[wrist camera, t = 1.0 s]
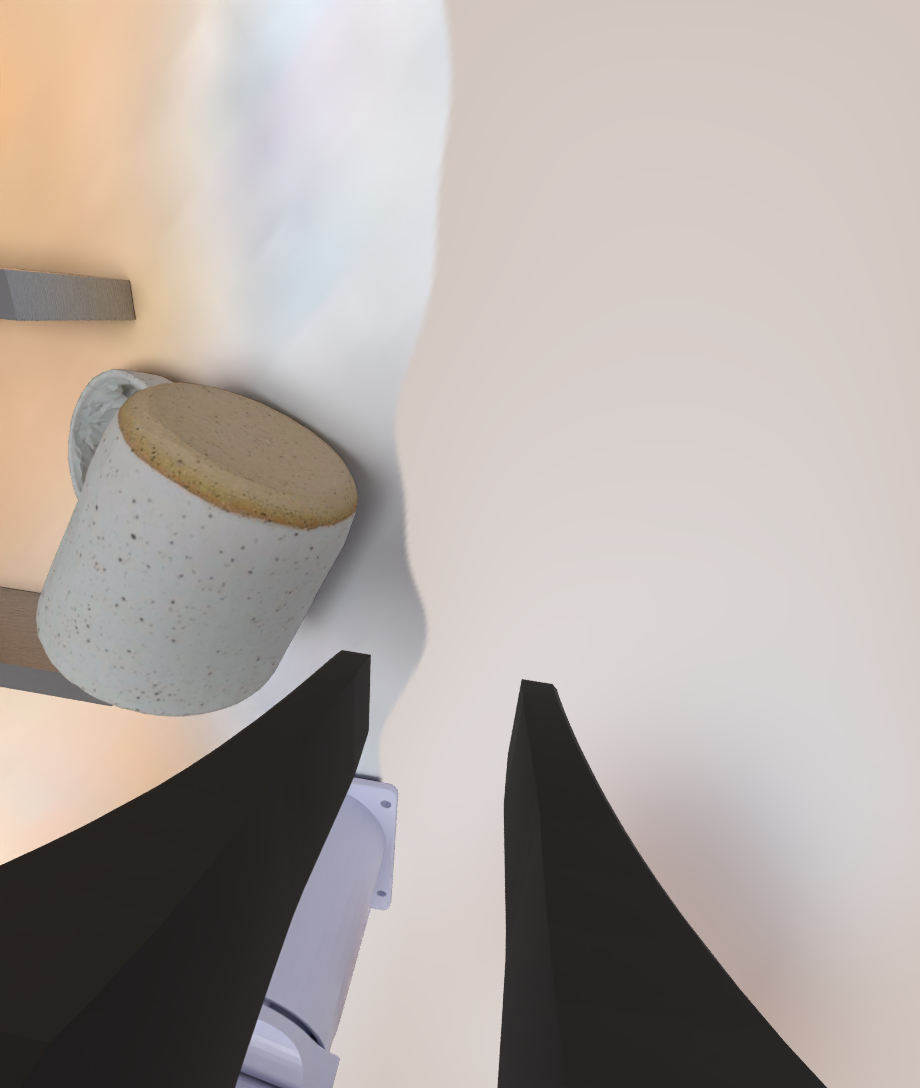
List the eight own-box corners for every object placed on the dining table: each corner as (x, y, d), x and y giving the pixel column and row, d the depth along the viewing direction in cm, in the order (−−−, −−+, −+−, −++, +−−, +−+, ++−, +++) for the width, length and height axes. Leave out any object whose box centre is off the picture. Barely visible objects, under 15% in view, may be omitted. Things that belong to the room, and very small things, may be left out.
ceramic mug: (398, 468, 18) (312, 556, 11) (311, 625, 22) (203, 768, 15) (132, 304, 17) (-139, 291, 10) (84, 495, 21) (-147, 581, 14)
